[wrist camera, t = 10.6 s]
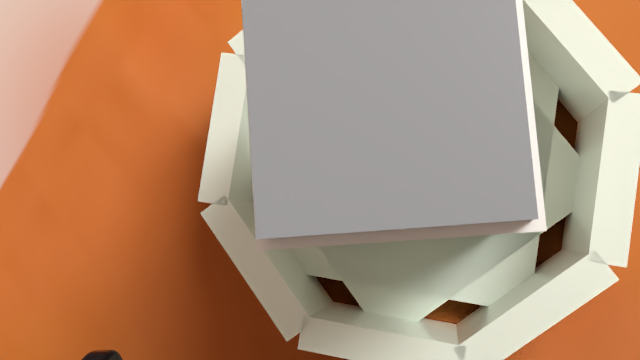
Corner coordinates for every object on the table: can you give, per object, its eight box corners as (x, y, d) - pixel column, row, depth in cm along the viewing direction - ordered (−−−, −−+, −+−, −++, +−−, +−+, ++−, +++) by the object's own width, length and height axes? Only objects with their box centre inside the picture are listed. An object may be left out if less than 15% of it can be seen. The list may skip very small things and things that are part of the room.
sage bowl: (378, 414, 21) (363, 455, 17) (186, 135, 24) (135, 117, 20) (685, 200, 20) (743, 193, 16) (448, -74, 22) (449, -138, 18)
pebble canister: (495, 230, 20) (553, 231, 9) (346, 240, 21) (245, 252, 10) (480, 83, 21) (520, -77, 10) (336, 100, 22) (229, -30, 11)
